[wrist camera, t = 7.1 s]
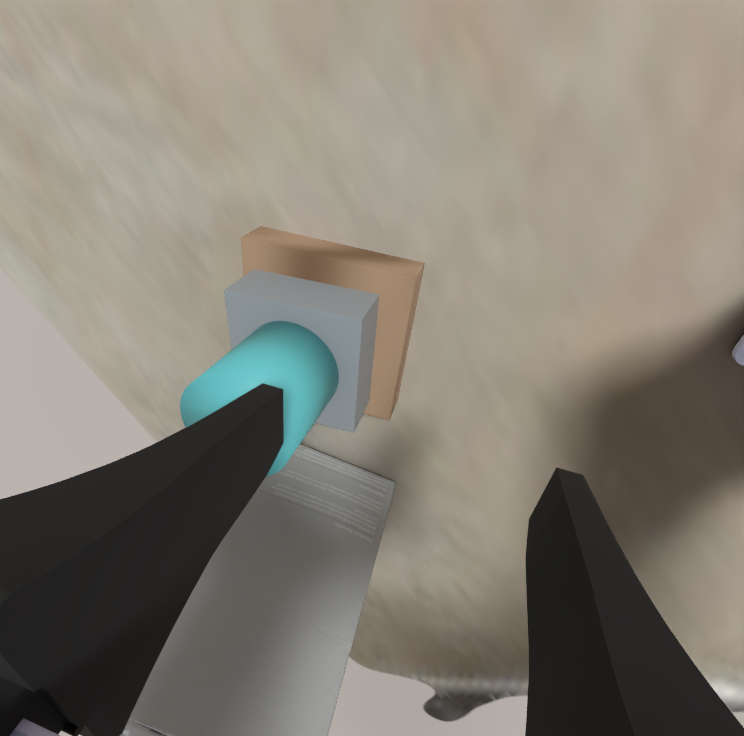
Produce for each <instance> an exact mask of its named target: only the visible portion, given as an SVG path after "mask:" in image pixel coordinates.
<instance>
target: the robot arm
mask: <svg viewBox="0 0 744 736" xmlns="http://www.w3.org/2000/svg"><path fill="white" fill-rule="evenodd" d="M732 356H733V358H734V359H735V361H736V362H737V363H738V364H740V365H743V366H744V335H743V336H742V337H741V339H740V340H739V342H738V343H737V344H736V346H735V347H734V349H733V351H732ZM283 443H284V424H283V389H281V388H278V387H274V386H271V385H267V384H264V383H262V384H260V385H259V386H257V387H255V388H254V389H252V390H250V391H248V392H247V393H245V394H243V395H242V396H240V397H238V398H237V399H235V400H233V401H232V402H230V403H228V404H227V405H225V406H223V407H222V408H220V409H218V410H216V411H215V412H213V413H211V414H209V415H208V416H206V417H204V418H202V419H201V420H199V421H197V422H195V423H194V424H192V425H190V426H188V427H186V428H184V429H182V430H180V431H179V432H177V433H175V434H173V435H171V436H169V437H167V438H165V439H163V440H161V441H159V442H157V443H155V444H153V445H151V446H149V447H147V448H145V449H143V450H140V451H138V452H136V453H133V454H131V455H129V456H126V457H124V458H122V459H119V460H117V461H115V462H112V463H110V464H107V465H105V466H102V467H99V468H97V469H94V470H91V471H88V472H86V473H83V474H80V475H77V476H74V477H72V478H69V479H66V480H63V481H61V482H57V483H54V484H51V485H48V486H45V487H41V488H38V489H35V490H32V491H29V492H25V493H22V494H18V495H15V496H11V497H8V498H4V499H0V736H60V735H58V734H59V732H60V731H64V732H66V733H68V734H70V735H72V736H78V735H79V734H80V735H82V736H120V735H121V734H122V733H123V731H124V729H125V726H126V724H127V722H128V720H129V718H130V715H131V713H132V711H133V709H134V707H135V705H136V703H137V701H138V698H139V696H140V694H141V692H142V690H143V688H144V686H145V684H146V682H147V679H148V677H149V675H150V673H151V671H152V669H153V667H154V665H155V663H156V661H157V659H158V657H159V655H160V653H161V651H162V649H163V647H164V645H165V643H166V641H167V639H168V637H169V635H170V633H171V631H172V629H173V627H174V625H175V623H176V621H177V620H178V618H179V616H180V614H181V612H182V610H183V608H184V606H185V604H186V603H187V601H188V599H189V597H190V595H191V593H192V591H193V589H194V588H195V586H196V584H197V582H198V580H199V579H200V577H201V575H202V573H203V571H204V570H205V568H206V566H207V564H208V562H209V561H210V559H211V557H212V556H213V554H214V552H215V551H216V549H217V548H218V546H219V545H220V543H221V541H222V540H223V539H224V537H225V536H226V534H227V533H228V531H229V530H230V528H231V527H232V525H233V524H234V523H235V521H236V520H237V518H238V517H239V515H240V514H241V512H242V511H243V510H244V508H245V507H246V505H247V504H248V502H249V501H250V499H251V498H252V497H253V495H254V494H255V492H256V491H257V489H258V488H259V486H260V485H261V483H262V482H263V480H264V479H265V477H266V476H267V474H268V472H269V470H270V469H271V467H272V465H273V463H274V461H275V459H276V457H277V455H278V453H279V451H280V449H281V447H282V445H283ZM526 584H527V611H528V636H529V686H528V704H527V722H526V734H525V735H526V736H744V728H743V726H742V725H741V724H740V723H739V721H738V720H737V719H736V718H735V716H734V715H733V714H732V713H731V711H730V710H729V709H728V707H727V706H726V705H725V704H724V702H723V701H722V700H721V699H720V697H719V696H718V695H717V694H716V692H715V691H714V690H713V688H712V687H711V686H710V684H709V683H708V682H707V680H706V679H705V678H704V676H703V675H702V674H701V672H700V671H699V670H698V668H697V667H696V666H695V664H694V663H693V662H692V660H691V659H690V657H689V656H688V654H687V653H686V652H685V650H684V649H683V647H682V646H681V645H680V643H679V642H678V640H677V639H676V637H675V636H674V635H673V633H672V632H671V630H670V629H669V627H668V626H667V624H666V623H665V621H664V620H663V618H662V617H661V615H660V614H659V612H658V611H657V609H656V607H655V606H654V604H653V602H652V601H651V599H650V598H649V596H648V594H647V593H646V591H645V590H644V588H643V586H642V585H641V583H640V581H639V580H638V578H637V576H636V574H635V573H634V571H633V569H632V567H631V566H630V564H629V562H628V560H627V559H626V557H625V555H624V553H623V551H622V550H621V548H620V546H619V544H618V542H617V541H616V539H615V537H614V535H613V533H612V531H611V529H610V527H609V525H608V523H607V521H606V520H605V518H604V516H603V514H602V512H601V510H600V508H599V506H598V504H597V502H596V500H595V498H594V496H593V494H592V492H591V490H590V488H589V486H588V484H587V482H586V480H585V478H584V476H583V475H581V474H577V473H574V472H570V471H567V470H563V469H560V468H556V470H555V472H554V474H553V475H552V477H551V479H550V481H549V483H548V485H547V487H546V489H545V490H544V492H543V494H542V496H541V498H540V500H539V502H538V503H537V505H536V507H535V509H534V511H533V513H532V515H531V517H530V518H529V526H528V537H527V549H526Z"/></svg>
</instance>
